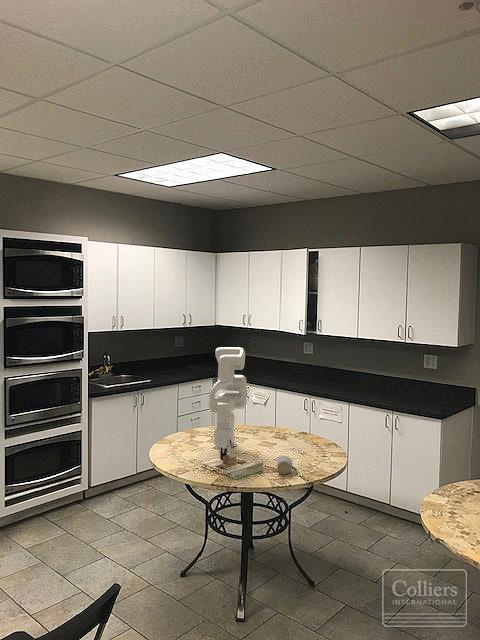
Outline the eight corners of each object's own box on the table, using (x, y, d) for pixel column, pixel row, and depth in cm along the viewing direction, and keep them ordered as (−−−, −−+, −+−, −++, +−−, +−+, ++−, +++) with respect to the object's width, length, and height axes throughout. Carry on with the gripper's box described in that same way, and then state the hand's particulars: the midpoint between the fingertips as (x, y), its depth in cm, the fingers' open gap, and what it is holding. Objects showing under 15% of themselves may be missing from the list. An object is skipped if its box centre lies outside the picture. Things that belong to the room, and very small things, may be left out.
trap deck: (201, 466, 280) (201, 459, 280) (228, 458, 295) (228, 451, 294) (235, 479, 262) (235, 471, 262) (262, 469, 276) (263, 462, 276)
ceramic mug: (276, 474, 269) (277, 460, 268) (277, 469, 277) (277, 455, 277) (297, 476, 268) (298, 461, 267) (297, 470, 276) (298, 456, 275)
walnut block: (223, 463, 279) (223, 456, 279) (229, 461, 283) (229, 454, 283) (229, 465, 276) (229, 458, 276) (236, 463, 279) (236, 456, 279)
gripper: (209, 424, 284) (208, 457, 285) (228, 429, 274) (228, 464, 275) (219, 421, 289) (219, 454, 290) (238, 426, 279) (238, 461, 280)
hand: (223, 459), depth 283 cm, fingers closed
